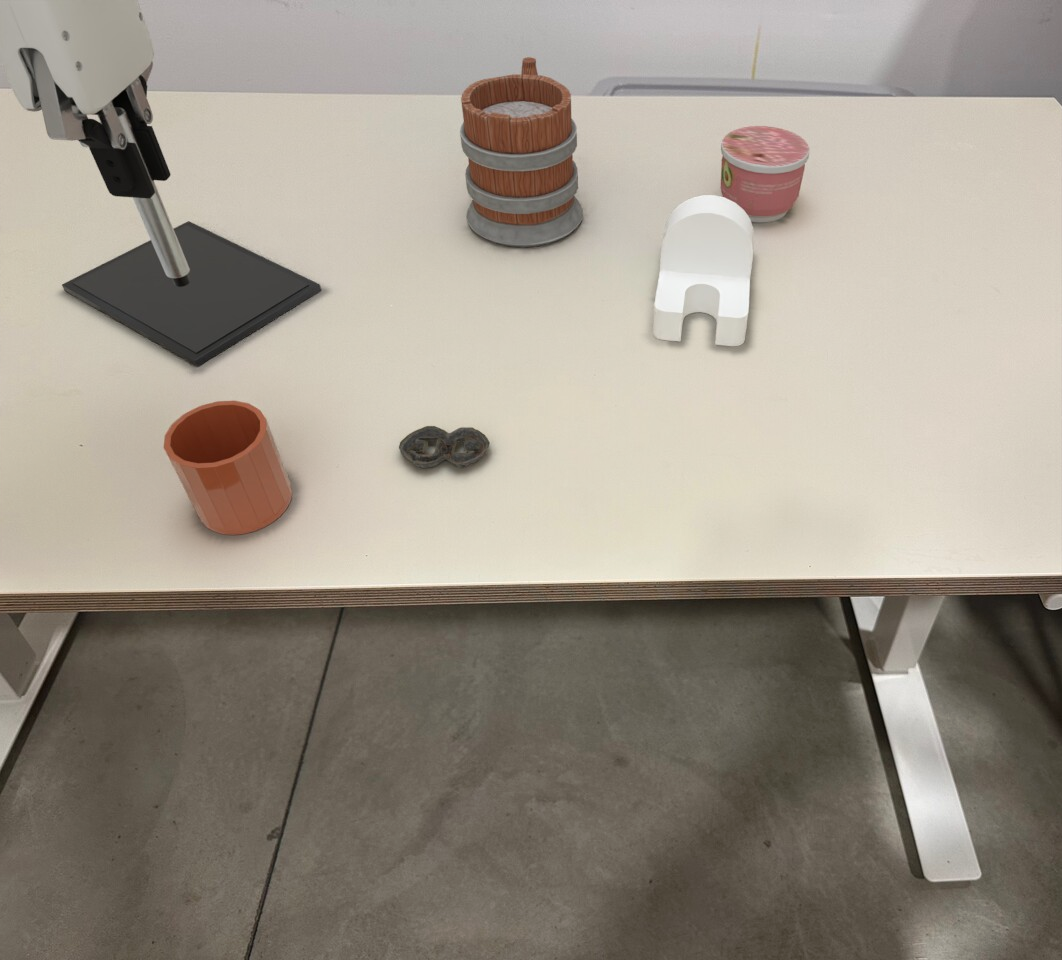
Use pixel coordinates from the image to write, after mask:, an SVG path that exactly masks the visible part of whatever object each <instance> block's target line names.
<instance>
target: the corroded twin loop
mask: <svg viewBox="0 0 1062 960" xmlns="http://www.w3.org/2000/svg"><path fill="white" fill-rule="evenodd" d="M429 442H436V443H435V447H434V452H433V453H431V454H424V452H426V451H427V448H428V445H429V444H428V443H429ZM459 442H464V444H463V452H456V447H457V443H459ZM489 447H490V440H489V439H488V438H487V436H486V434H485V433H483V432H481V431H480V430H479V429H476V428H474V427H470V426H469V427H466V426H465V427H463V426H461V427H459V428H457V429H455V430H453V431H451V432H448V431H446V430H445V429H442V428H440V427H438V426H436V425H425V426H423V427H421V428H419V429H418V428H417V429H416V430H414V431H412V432H411V433H408V434H407V435H406V436H405V437H403V439H401V440H400V441H399V445H398V449H399V451H400V453H401V455H403V456H404V457H405V458H406V459H407V460H408V461H410V462H411V463H413V464H414V465H415V466H416V467H418V468H420V469H428V468H434V467H436V466H437V465H439V464H440V463H441V462H444V461H448V463H451V464H452V465H454V466H456V467H457V468H464V467H466V466H468V465H472V464H474V463H476V462H478V461H479V460H480V459H481V458H482V457H483V456H484V455H485V454H486V452H487V450H488V449H489Z"/></svg>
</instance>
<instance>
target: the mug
mask: <svg viewBox="0 0 1062 960" xmlns="http://www.w3.org/2000/svg"><path fill="white" fill-rule="evenodd" d="M460 102H461V109H462V110H461V111H462V119H463V122H462V124H461V125H460V129H459V135H460V143H461V149H462V152H463V153H464V155H465V156H466V157H467V160H468V161H467V162H468V165H467V167H466V169H465V174H464V176H465V184H466V191H467V194H468V195H469V197H470V198H471V199H472V200H471V202H470V204H469V206H468V209H467V210H466V221H467V224H468V225H469V227H470V228H471V229H472V230H473V232H475V233H476V234H477V235H479V236H480V237H482V238H483V239H486V240H487V241H489V242H492V243H495V244H497V245H500V246H501V245H502V246H507V247H515V248H532V247H540V246H545V245H549V244H552V243H555V242H558V241H560V240H562V239H564V238H566V237H567V236H569V235H570V234H571V233H572V232H573V231H575V230H576V229H577V228H578V226H579V225H580V224H581V222H582V220H583V216H584V210H583V208H582V205H581V203H580V201H579V200H578V198H577V197H576V194H577V192H578V189H579V169H578V166H577V163H576V162H575V161H574V160H573V159H574V158H573V154H574V153H575V152H576V149H577V147H578V131H577V130H578V129H577V123H576V122H575V120H574V118H572V93H571V91H570V90H569V89H568V88H567V87H566V86H565V85H564V84H562V83H560V82H559V81H557V80H555V79H553V78H551V77H548V76H544V75H541V74H540V75H538V69H537V59H536V58H535V57H531V56H530V57H524V58H522V62H521V74H517V73H516V74H515V73H514V74H507V75H501V76H496V77H490V78H484V79H480V80H477V81H474V82H473V83H471V84H469V85H468V86H467V87H466V88H465V89H464V91H463V92H462V94H461V97H460Z"/></svg>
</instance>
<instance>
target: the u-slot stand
mask: <svg viewBox="0 0 1062 960" xmlns="http://www.w3.org/2000/svg"><path fill="white" fill-rule="evenodd" d="M752 223H753V222H751V220H750V218H749V217H748V215H747V214H746V212H745V211H744V210H743V209H742V208H741V207H740V206H739V205H737V204H736V203H735V202H733V201H731V200H729V199H727V198H725V197H723V196H720V195H714V194H704V195H697V196H694V197H691V198H688V199H686V200H685V201H683V202H681V203H680V204H678V205H677V206H676V207H675V208H674V210H672V211H671V212H670V215H669V216H668V218H667V220H666V222H665V225H664V226H665V227H664V231H663V237H662V243H661V248H660V262H659V274H658V280H657V285H656V293H655V298H654V303H653V323H652V324H653V325H652V326H653V327H652V334H653V336H654V337H655V338H656V339H657V340H661V341H671V342H681V339H682V334H683V333H682V332H683V326H684V325H683V324H684V319H685V318H686V317H687V316H688V315H691V314H693V313H704V314H706V315H710V316H711V317H712V318H714V320H715V321H716V327H715V328H716V329H715V338H714V341H715V342H714V345H715V346H725V347H726V346H727V347H739V346H741V345H743V344H744V343H745V340H746V333H747V326H748V320H749V319H748V318H749V311H750V291H751V275H752V267H753V260H754V243H755V240H754V239H755V236H754V235H755V233H754V231H755V230H754V227H753V224H752Z"/></svg>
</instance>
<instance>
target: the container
mask: <svg viewBox="0 0 1062 960" xmlns="http://www.w3.org/2000/svg"><path fill="white" fill-rule="evenodd" d="M720 153H721V155H722V158H721V165H720V166H721V168H720V169H721V170H720V187H719V188H720V192H721V195H722V196H721V197H725V198H727V199H729V200H731V201H733V202H735V203H736V204H737V205H739V206H740V207H741V208H742V209H743V210H744V211H745V212H746V214H747V215H748V217H749V218H750V220H751V223H771V222H772V223H773V222H776V221H778V220H780V219H782V218H784V217H785V216H786V215H787V214H788V211H790V210H791V208H792V207H793V206H794V204H795V203H796V201H797V200H798V198H799V196H800V191H801V187H802V182H803V178H804V173H805V166H806V163H807V162H808V160H809V158H810V157H809V156H810V146H809V144H808V143H807V141H806V140H805V139H804V138H803V137H802V136H800V135H799V134H797V133H795V132H793V131H790V130H789V129H788V130H787V129H784V128H780V127H775V126H770V125H750V126H743V127H740V128H736V129H733V130H732V131H729V132H728V133H727V134H725V135H724V136H723V138H722V139H721V143H720Z"/></svg>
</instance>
